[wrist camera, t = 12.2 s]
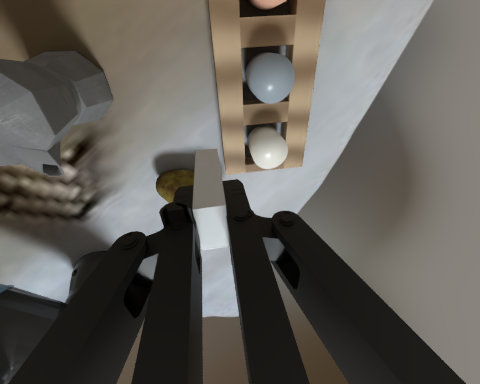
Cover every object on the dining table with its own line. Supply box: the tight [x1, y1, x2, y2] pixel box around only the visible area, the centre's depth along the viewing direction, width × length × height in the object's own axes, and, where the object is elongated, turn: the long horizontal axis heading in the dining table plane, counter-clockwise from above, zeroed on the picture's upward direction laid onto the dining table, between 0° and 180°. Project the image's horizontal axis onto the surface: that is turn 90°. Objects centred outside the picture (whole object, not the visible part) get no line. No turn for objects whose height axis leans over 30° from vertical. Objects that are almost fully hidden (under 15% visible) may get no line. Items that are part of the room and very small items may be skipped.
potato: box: [156, 169, 194, 203], centre depth 38 cm, size 8×13×8 cm, turn 45°
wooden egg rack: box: [208, 0, 326, 175], centre depth 30 cm, size 30×14×3 cm, turn 3°
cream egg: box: [247, 125, 288, 169], centre depth 34 cm, size 6×6×5 cm
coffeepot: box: [0, 51, 113, 176], centre depth 22 cm, size 15×9×18 cm, turn 24°
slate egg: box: [245, 52, 295, 104], centre depth 28 cm, size 6×6×5 cm
